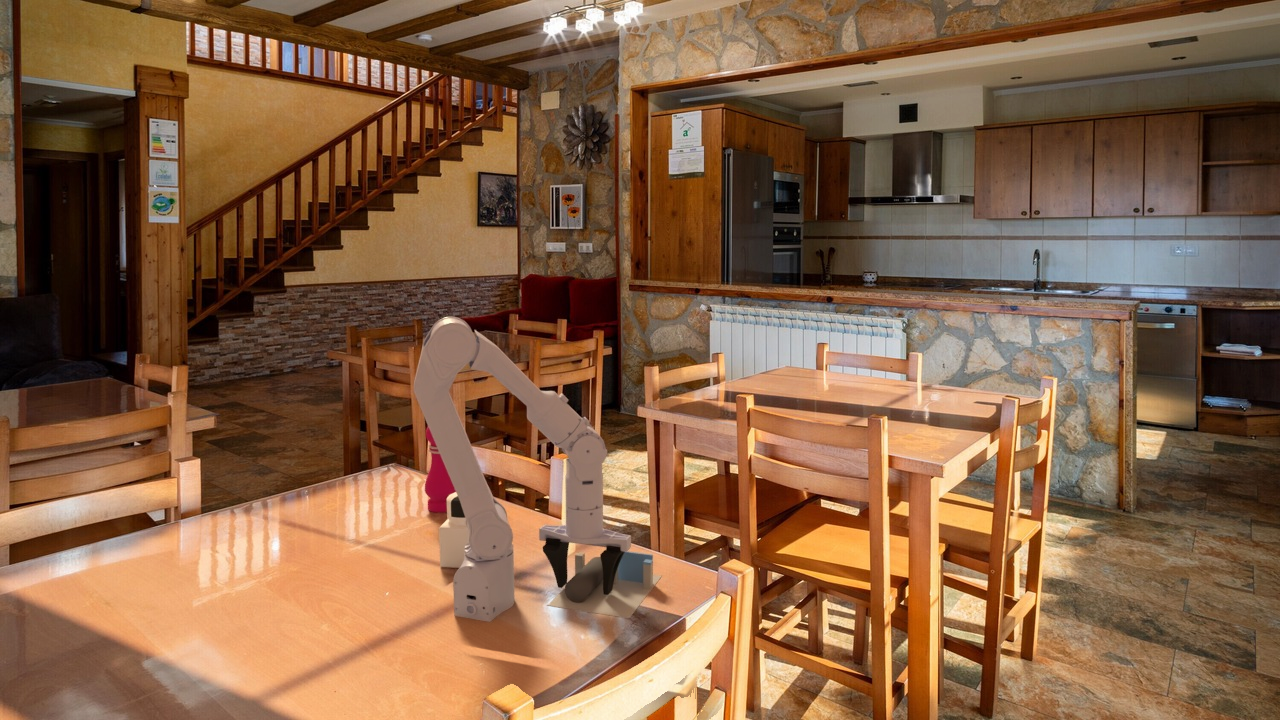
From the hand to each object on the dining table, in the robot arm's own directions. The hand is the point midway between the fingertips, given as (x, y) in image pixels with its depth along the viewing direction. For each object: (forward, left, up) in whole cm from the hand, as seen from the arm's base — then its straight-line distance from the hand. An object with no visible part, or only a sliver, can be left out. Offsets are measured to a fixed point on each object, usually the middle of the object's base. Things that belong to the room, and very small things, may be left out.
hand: (584, 588), depth 128 cm
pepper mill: (+30, +44, -2) cm, 53 cm away
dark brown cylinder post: (+1, 0, -1) cm, 1 cm away
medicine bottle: (+7, +25, -2) cm, 26 cm away
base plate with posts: (+2, -3, -1) cm, 4 cm away
